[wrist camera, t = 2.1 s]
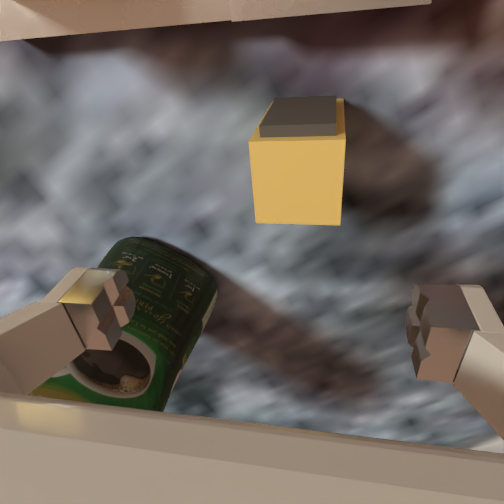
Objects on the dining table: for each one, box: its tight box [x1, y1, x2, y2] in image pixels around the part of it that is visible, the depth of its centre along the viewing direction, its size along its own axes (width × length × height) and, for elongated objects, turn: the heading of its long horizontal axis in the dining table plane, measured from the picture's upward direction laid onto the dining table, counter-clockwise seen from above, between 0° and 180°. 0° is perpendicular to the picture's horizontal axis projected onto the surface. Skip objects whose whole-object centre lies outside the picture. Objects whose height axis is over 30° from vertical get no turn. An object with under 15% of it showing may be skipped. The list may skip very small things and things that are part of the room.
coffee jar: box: [28, 237, 218, 412], centre depth 23 cm, size 10×8×19 cm
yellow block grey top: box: [249, 96, 346, 225], centre depth 19 cm, size 4×4×7 cm
